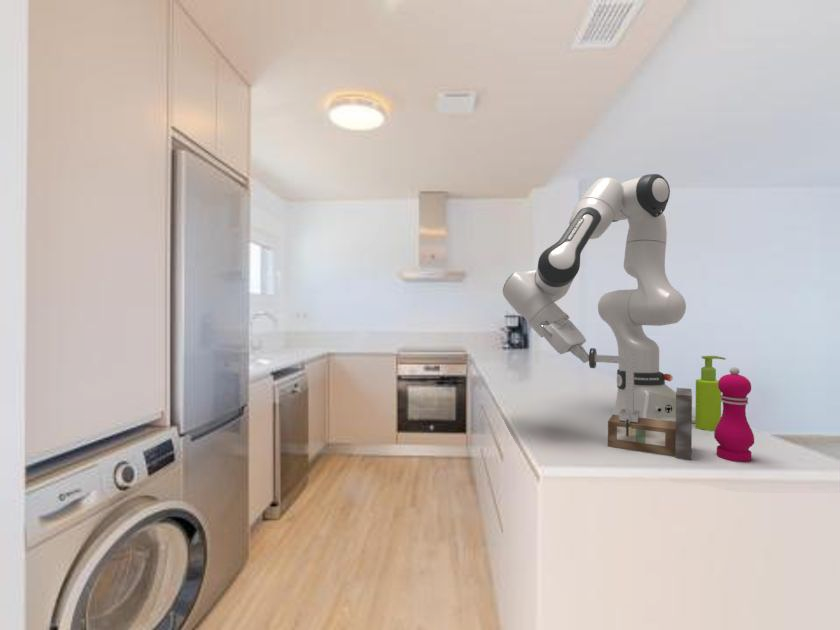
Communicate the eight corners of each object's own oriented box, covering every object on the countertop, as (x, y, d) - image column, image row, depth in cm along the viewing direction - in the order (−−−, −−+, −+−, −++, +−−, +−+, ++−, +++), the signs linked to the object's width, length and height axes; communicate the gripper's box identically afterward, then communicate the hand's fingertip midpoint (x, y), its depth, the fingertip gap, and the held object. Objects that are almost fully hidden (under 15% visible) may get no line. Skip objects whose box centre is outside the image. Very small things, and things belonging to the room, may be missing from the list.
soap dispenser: (729, 431, 117) (730, 357, 117) (701, 430, 118) (701, 356, 118) (718, 426, 123) (719, 355, 123) (691, 424, 124) (692, 354, 124)
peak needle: (628, 435, 101) (628, 426, 101) (628, 434, 102) (628, 426, 102) (631, 435, 101) (631, 427, 101) (631, 435, 101) (631, 426, 101)
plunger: (586, 430, 106) (587, 349, 106) (592, 423, 113) (593, 347, 113) (636, 437, 100) (637, 351, 100) (639, 429, 107) (640, 349, 107)
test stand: (607, 447, 104) (607, 388, 103) (613, 436, 112) (613, 382, 112) (691, 460, 95) (691, 395, 95) (690, 447, 103) (691, 388, 103)
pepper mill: (761, 463, 93) (762, 369, 92) (723, 461, 94) (724, 368, 94) (743, 452, 100) (744, 365, 99) (708, 450, 101) (709, 364, 101)
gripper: (547, 313, 105) (589, 356, 100) (567, 313, 123) (604, 349, 118) (529, 331, 108) (569, 374, 103) (551, 328, 125) (586, 364, 120)
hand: (588, 360), depth 111 cm, fingers closed, pressing on plunger
